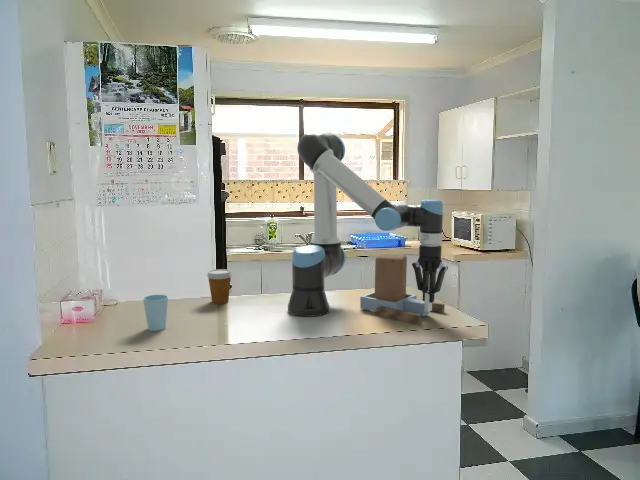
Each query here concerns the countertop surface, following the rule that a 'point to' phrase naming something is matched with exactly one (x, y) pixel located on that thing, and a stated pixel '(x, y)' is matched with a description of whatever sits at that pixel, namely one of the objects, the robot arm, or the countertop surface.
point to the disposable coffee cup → (219, 285)
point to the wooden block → (390, 277)
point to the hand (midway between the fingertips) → (428, 310)
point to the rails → (406, 313)
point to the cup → (156, 311)
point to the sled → (394, 304)
